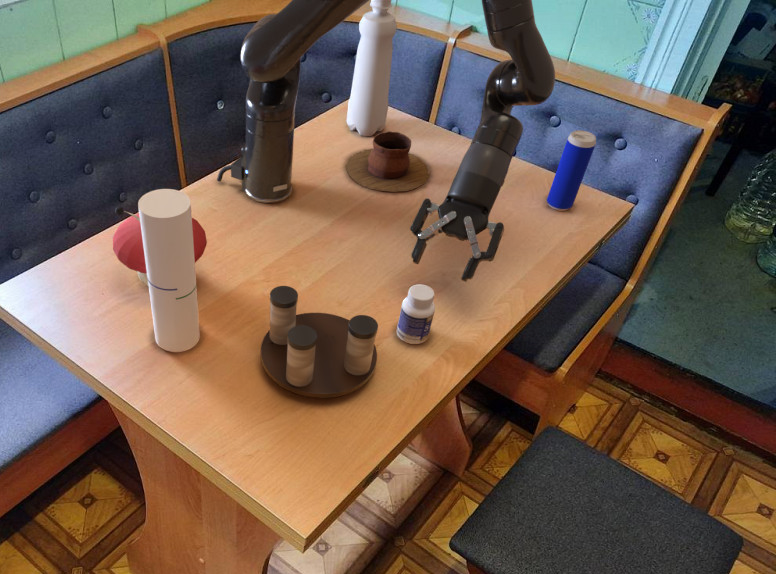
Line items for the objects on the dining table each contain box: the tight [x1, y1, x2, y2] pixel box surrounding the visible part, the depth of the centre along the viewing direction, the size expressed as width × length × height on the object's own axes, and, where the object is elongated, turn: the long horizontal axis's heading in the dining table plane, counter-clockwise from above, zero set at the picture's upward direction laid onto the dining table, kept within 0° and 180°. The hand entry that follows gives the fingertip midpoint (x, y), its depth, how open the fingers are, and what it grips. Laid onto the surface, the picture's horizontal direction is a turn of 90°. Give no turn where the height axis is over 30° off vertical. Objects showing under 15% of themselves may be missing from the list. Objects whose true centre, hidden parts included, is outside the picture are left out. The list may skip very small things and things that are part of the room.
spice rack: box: [260, 285, 379, 399], centre depth 110 cm, size 18×18×9 cm
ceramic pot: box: [345, 130, 431, 193], centre depth 152 cm, size 18×18×7 cm
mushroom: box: [112, 206, 208, 288], centre depth 122 cm, size 16×16×15 cm
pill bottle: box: [396, 283, 436, 345], centre depth 116 cm, size 5×5×9 cm
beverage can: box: [546, 129, 597, 212], centre depth 142 cm, size 5×5×15 cm
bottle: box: [346, 0, 398, 137], centre depth 157 cm, size 9×9×30 cm
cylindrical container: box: [137, 188, 201, 353], centre depth 108 cm, size 7×7×25 cm
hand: (439, 271), depth 119 cm, fingers open, 8 cm apart
